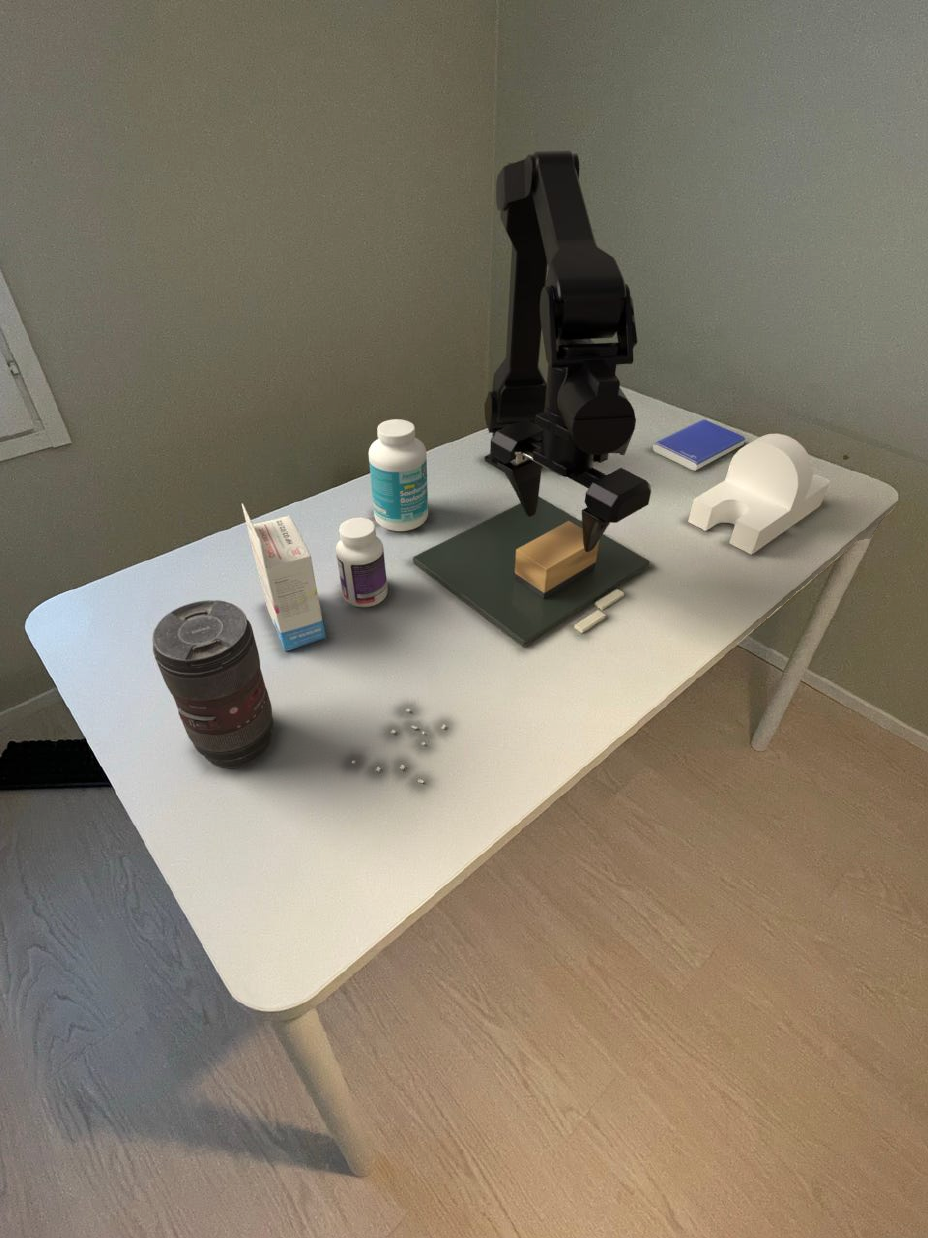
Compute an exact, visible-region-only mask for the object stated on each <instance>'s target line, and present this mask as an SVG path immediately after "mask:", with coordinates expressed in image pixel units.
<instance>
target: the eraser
mask: <svg viewBox="0 0 928 1238" xmlns="http://www.w3.org/2000/svg"><path fill="white" fill-rule="evenodd" d="M598 545H599V541H598V543H597V544H596V546H595V547H594V549H593V550H591V551H589V552H586V551H585V549H584V544H583V529H582V528H580V527H578V526H577V525H575V524H573V523H572V522H570V521H567V522H566V523H564V524H562V525H560V526H558V527H556V528H555V529H553V530H551V531H549V532H547V533H545V534H544V535H542V536H540V537H538V538H536V539H534V540H533V541H531V542H529V543H527V544H525V545H524V546H522V547H520V548H518V549H516V561H515V580H517V581H518V582H519V583H521V584H522V585H524V586H525V587H527V588H528V589H530V590H531V591H532V592H534V593H535V594H537V595H538V596H540V597H541V598H543V599H545V598H547V597H548V596H550V595H552V594H553V593H555V592H557V591H558V590H560V589H561V588H563V587H565V586H566V585H568V584H570V583H571V582H573V581H575V580H576V579H578V578H579V577H581V576H583V575H584V574H586V573H588V572H589V571H591V570H593V569H594V568H595V563H596V558H597V551H598Z"/></svg>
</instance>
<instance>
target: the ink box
mask: <svg viewBox="0 0 928 1238" xmlns="http://www.w3.org/2000/svg"><path fill="white" fill-rule="evenodd" d="M241 507H242V511H243V515H244V519H245V523H246V528H247V532H248V537H249V540H250V545H251V548H252V553H253V557H254V560H255V563H256V564H255V565H256V570H257V573H258V577H259V580H260V585H261V588H262V593H263V597H264V600H265V601H264V602H265V605H266V609H267V611H268V614H269V616H270V618H271V621H272V624H273V626H274V629H275V631H276V633H277V636H278V638H279V640H280V644H281V645H282V647H283V651H284V652H289V651H292V650H294V649H297V648H300V647H303V646H306V645H310V644H312V643H316V642H318V641H321V640H325V639H326V638H327V637H326V631H325V627H324V621H323V616H322V615H323V614H322V610H321V605H320V600H319V599H320V598H319V594H318V587H317V582H316V578H315V577H316V576H315V571H314V565H313V560H312V559H313V558H312V555H311V553H310V551H309V548H308V547H307V544H306V543H305V541H304V539H303V538H302V535H301V534H300V532H299V529H298V527H297V525H296V524H295V522H294V520H293V518H292V516H291V515H286V516H282V517H279V518H274V519H271V520H270V519H269V520H265V521H262V522H258V523H254V524H253V521H252V519H251V517H250V515H249V513H248V511H247V508H246V506H245V504H244V503H241Z"/></svg>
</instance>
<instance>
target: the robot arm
mask: <svg viewBox="0 0 928 1238" xmlns="http://www.w3.org/2000/svg"><path fill="white" fill-rule="evenodd" d="M495 201H496V203H495V204H496V209H497V211H500V214H499V215H500V217H499V218H500V221H501V223H502V225H503V228H504V229H505V232H506V234H507V236H508V238H509V240H510V242H511V259H510V273H509V274H510V276H509V294H508V311H507V328H506V329H507V331H506V346H505V347H506V348H505V358H504V359H503V361H502V362H501V364H500V365H499V366H498V367H497V368H496V370H495V371H494V373H493V376H492V387H491V388H492V389H491V390H489V391H488V393H487V396H486V399H485V402H484V421H485V424H486V427H487V431H488V433H489V434H492V435H491V436H492V437H491V439H490V450H489V451H490V453H489V454H487V455H484V456H483V460H484V462H486V463H488V464H490V465H491V466H493V467H495V468H497V469H499V470H500V471H502V472H503V473H504V474H505V476H506V478H507V479H508V481H509V483H510V485H511V487H512V488H513V491H514V492H515V494H516V496H517V498H518V500H519V502H520V503H521V504H522V506H523V508H524V510H525V513H526V515H527V516H528V517H531V516H533V515H535V513H536V509H537V505H538V497H540V496H539V495H540V487H541V486H540V485H541V478H542V470H543V469H544V468H545V469H547V470H549V471H551V472H552V473H554V474H556V475H558V476H559V477H564V478H568V479H570V480H572V481H573V482H575V483H577V484H579V485H581V486H583V487H585V488H586V489H587V490H586V492H585V495H584V505H585V506H586V507H585V508H582V510H581V521H582V529H583V544H584V549H585V551H586V552H589V551H591V550H593V549H594V547H595V546H596V544H597V543H598V541H599V539H600V538H601V536H602V535H603V534H604V533H605V531H606V530H607V528H608V527H609V525H610V524H612V523H613V524H618V523H619V522H621V521H622V520H624V519H626V518H628V517H629V516H631V515H633V514H634V513H637V512H638V511H640V510H641V509H643V508H645V507H647V506H648V505H649V504H650V499H651V494H652V485H651V484H650V483H649V481H648V480H646V478H645V479H644V478H643V477H641V476H639V475H637V474H635V473H633V472H631V471H629V470H627V469H626V468H623V467H619V468H617V469H616V470H614V471H611V472H610V473H608V474H606V473H604V472H602V471H600V470H599V469H596V468H594V465H595V463H599V464H602V463H604V462H606V461H608V460H609V454H619V455H620V456H625V455H626V453H627V450H628V448H629V445H630V443H631V440H632V437H633V434H634V432H635V429H636V423H637V418H636V413H635V409H634V407H633V405H632V403H631V401H629V398H628V397H627V396H626V394H625V393H624V391H623V390H622V388H621V387H620V386H621V382H620V379H619V378H618V376H617V375H616V370H617V365H618V366H619V365H632V364H634V348H635V347H636V346H637V344H638V335H637V334H638V333H637V326H636V318H635V310H634V300H633V297H632V296H631V290H630V287H629V285H628V284H627V283H625V279H624V276H623V273H622V272H621V269H620V267H619V265H618V263H617V260H616V259H615V257H613V256H612V255H610V254H609V253H607V252H605V250H603V249H602V248H600V247H598V244H597V242H596V239H595V235H594V231H593V227H592V223H591V220H590V217H589V212H588V209H587V205H586V202H585V198H584V195H583V191H582V187H581V183H580V159H579V155H578V153H573V152H572V151H571V150H541V151H540V150H539V151H534V152H533V154H527V155H526V157H525V158H523V159H521V160H518V161H515V162H514V161H513V162H512V161H511V162H508V163H507V165H504V166H503V167H502V168H501V170H500V171H499V173H498V174H497V176H496V183H495ZM615 335H616V338H617V342H599V343H597V342H594V341H593V340H595V339H597V340H598V339H612V338H614V336H615ZM541 339H543V346H544V352H545V360H546V362H547V376H546V379H545V377H544V376H545V375H544V374H543V371H542V370H541V367H540V366H539V365H540V364H539V363H540V354H541V353H540V352H541V351H540V350H541V343H542V341H541Z"/></svg>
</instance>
